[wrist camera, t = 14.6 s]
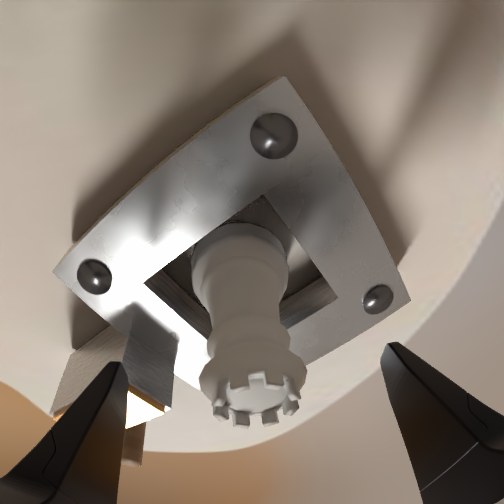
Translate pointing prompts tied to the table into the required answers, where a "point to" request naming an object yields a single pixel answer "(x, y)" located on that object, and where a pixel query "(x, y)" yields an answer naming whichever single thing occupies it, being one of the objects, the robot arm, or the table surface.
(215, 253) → the rook chess piece
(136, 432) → the dowel
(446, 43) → the table surface
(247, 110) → the grey bolted fixture plate
